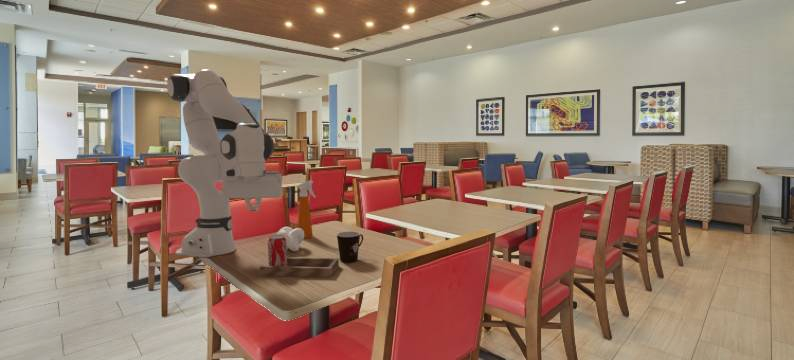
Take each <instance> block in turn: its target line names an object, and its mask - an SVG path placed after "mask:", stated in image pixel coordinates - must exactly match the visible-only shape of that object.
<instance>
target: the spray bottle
mask: <svg viewBox="0 0 794 360" xmlns="http://www.w3.org/2000/svg"><path fill="white" fill-rule="evenodd" d="M313 183H314V181H313V180H306V181H304V182H302V183H300V184H299V185H298V186H297V189H298V190H299V200H298V213H297V214H298V217H297V228H301V229H302V230H303V231H304V239H308V238H309V239H310V238H312V237H313V236H314V234H313V227H312V219H311V213H310V212H311V211H310V203H309V195H308V193H310V195H311V196H312V197H313V198H317V196H316V195H315V192H314V191H313V189H312V187H313V186H312V184H313Z"/></svg>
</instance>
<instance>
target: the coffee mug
mask: <svg viewBox="0 0 794 360" xmlns="http://www.w3.org/2000/svg"><path fill="white" fill-rule="evenodd" d="M360 237H361V238H360ZM336 238H337V246H338V254H339V255H338V256H339V261H340V262H341V263H344V264H351V263H355V262H357V261H359V259H358V257H359V249H360V246H362V244H363V240H364V235H363V234H362V233H360V232H359V231H353V230H352V231H350V230H349V231H341V232H338V233H336ZM360 239H361V241H360Z"/></svg>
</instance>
